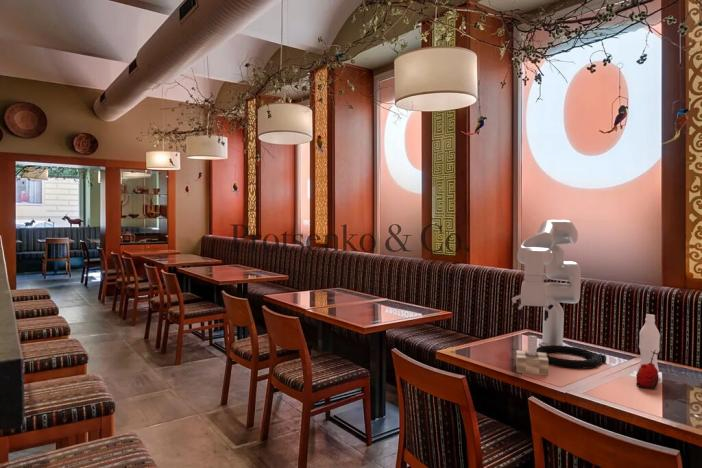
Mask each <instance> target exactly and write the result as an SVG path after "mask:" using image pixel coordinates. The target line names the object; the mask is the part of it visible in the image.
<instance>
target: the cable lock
mask: <svg viewBox="0 0 702 468" xmlns="http://www.w3.org/2000/svg"><path fill="white" fill-rule="evenodd" d="M537 352H541V353H546V354H547V358H548V365H551V366H555V367H561V368H567V369H593V368H596V367H598V366H599V365H601V364H604V362H605V363H606V362H607V356H606V354H602V353H597V352H593V351H590V350H588V349H585V348H581V347H577V346H569V345H566V346H556V345H551V346H539V347H537ZM552 353H556V354H558V353H559V354H561V353H562V354H569V355H573V356H574V355H575V356H579V357H583V358H585V359H566V358H559V357H555V356H550V355H548V354H552Z"/></svg>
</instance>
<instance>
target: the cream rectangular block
mask: <svg viewBox="0 0 702 468" xmlns="http://www.w3.org/2000/svg"><path fill="white" fill-rule="evenodd" d="M515 351H516V353H515V354H516V355H515V357H516V359H515V360H516V361H515V366H516V367H515V368H516V373H519V374H521V373H523V374H533V375H542V376H549V364H548V358H547V355H548V353H541V352H537V357H527V351H528V350H518V349H516V350H515Z"/></svg>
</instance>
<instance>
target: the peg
mask: <svg viewBox="0 0 702 468" xmlns="http://www.w3.org/2000/svg"><path fill="white" fill-rule="evenodd" d="M537 346H538V336H537V335H528V336H527V350H526V351H527V357H537V348H538V347H537Z"/></svg>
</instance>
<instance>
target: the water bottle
mask: <svg viewBox="0 0 702 468" xmlns="http://www.w3.org/2000/svg"><path fill="white" fill-rule="evenodd" d="M644 321H645V322H644V325H643V326H642V327H641V329H640V330H639V342H638V343H639V344H638V348H639V352H640V361H639V364H638V366H637V367H638V369H637V370H639V368H640V367H641V365H642V364H649V363H650V362H651V358H652V356H653V352H654V351H655V350H656V351H655V353H658V354H659V352H660V343H661V341H660V339H661V334H660V332H659V329H658V327H657V325H656V315H655V314H650V313H646V314H645V319H644ZM651 351H652V352H651ZM652 364H654V365H655V368H656V369H657V371H658V374H659V373H660V370H659V369H660V368H659V365H658V355H656V354H654V356H653V360H652Z"/></svg>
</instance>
